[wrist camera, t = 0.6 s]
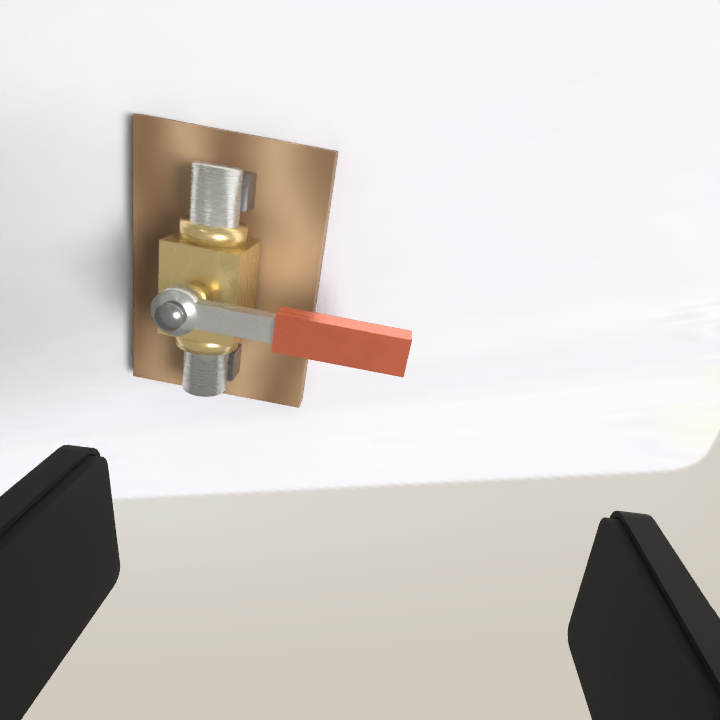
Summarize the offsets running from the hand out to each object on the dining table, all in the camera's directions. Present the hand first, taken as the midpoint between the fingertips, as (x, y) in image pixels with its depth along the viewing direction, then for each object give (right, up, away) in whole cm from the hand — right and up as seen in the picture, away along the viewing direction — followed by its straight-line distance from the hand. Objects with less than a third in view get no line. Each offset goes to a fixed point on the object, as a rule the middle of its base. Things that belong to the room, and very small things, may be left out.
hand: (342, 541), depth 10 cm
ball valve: (-10, +10, +29) cm, 33 cm away
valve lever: (-4, +6, +22) cm, 23 cm away
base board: (-10, +10, +31) cm, 34 cm away
